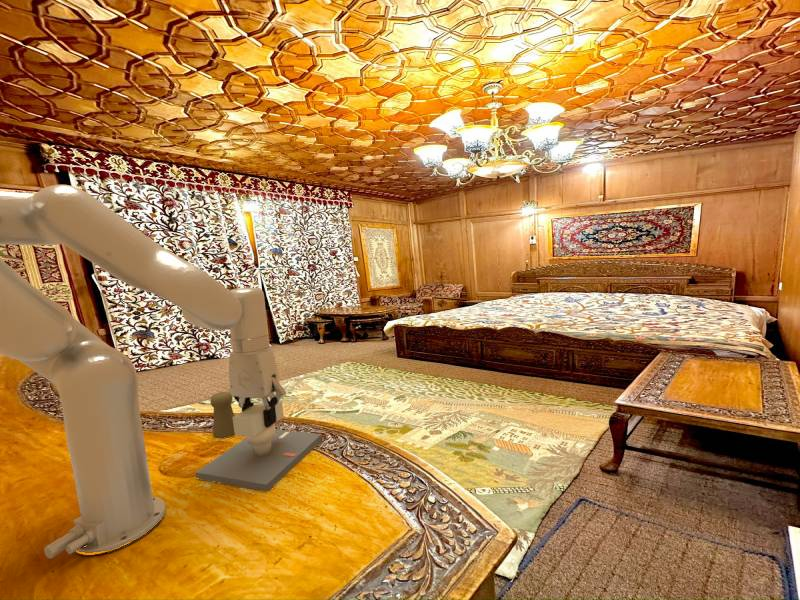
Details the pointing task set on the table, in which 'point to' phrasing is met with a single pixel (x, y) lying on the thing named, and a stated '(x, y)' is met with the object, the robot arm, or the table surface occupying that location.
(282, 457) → the base plate
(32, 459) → the table surface
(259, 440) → the cream rectangular block
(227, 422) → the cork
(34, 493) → the table surface
